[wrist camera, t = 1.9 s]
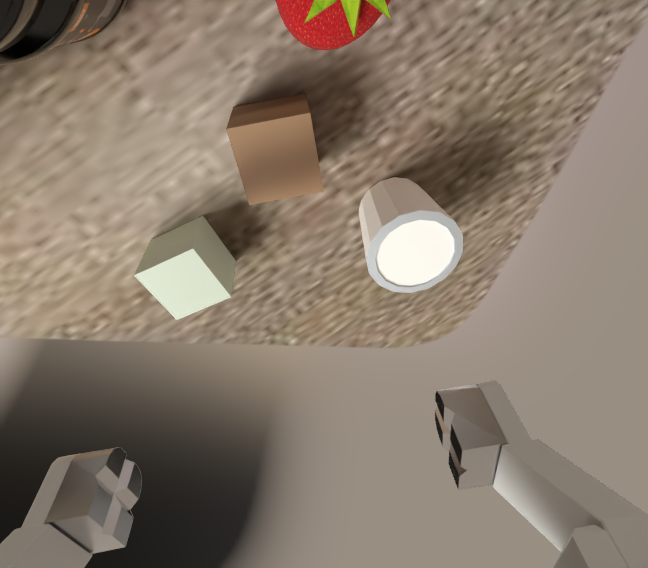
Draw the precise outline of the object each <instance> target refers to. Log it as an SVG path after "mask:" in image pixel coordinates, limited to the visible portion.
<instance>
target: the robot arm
mask: <svg viewBox="0 0 648 568" xmlns="http://www.w3.org/2000/svg"><path fill="white" fill-rule="evenodd" d="M435 401H436V403H437V406H438V407H437V409H436V410H435V421H436V427H437V431H438V435H439V438H440V441H441V444H442V446H443V447H444V448H445V449H446V450H447V451H449V466H450V469H451V472H452V474H453V477H454V480H455V483H456V485H457V488H458V490H461V489H468V488H476V487H483V486H489V485H493V487H494V488H495V489H496V490H497V491H498V492H499V493H500V494H501V495H502V496H503V497H504V498H505V499H506V500H507V501H508V502H509V503H510V504H511V505H512V506H513V507H515V508H516V509H517V510H518V511H519V512H520V513H521V514H522V515H523V516H524V517H525V518H526V519H527V520H528V521H529V522H530V523H531V524H532V525H534V526H535V527H536V528H537V529H538V530H539V531H540V532H541V533H542V534H543V535H544V536H545V537H546V538H547V539H548V540H549V541H550V542H551V543H552V544H553V545H554V546H556V548H558V549H559V550H560V551H561V554H560V556H559V558H558V560H557V562H556V563H555V566H554V568H648V514H647V513H645V512H644V511H642V510H641V509H639V508H638V507H636V506H635V505H633V504H632V503H631V502H629V501H628V500H626V499H625V498H623V497H622V496H620V495H619V494H617V493H616V492H615V491H613V490H612V489H610V488H609V487H607V486H606V485H604V484H603V483H601V482H600V481H599V480H597V479H596V478H594V477H593V476H591V475H590V474H588V473H587V472H585V471H584V470H583V469H581V468H580V467H578V466H577V465H575V464H574V463H572V462H571V461H569V460H568V459H567V458H565V457H564V456H562V455H561V454H559V453H558V452H556V451H555V450H553V449H552V448H550V447H549V446H548V445H546V444H545V443H543V442H542V441H540V440H539V439H534V440H532V439H531V437H530V436H529V434H528V432H527V430H526V429H525V427H524V425H523V423H522V422H521V420H520V418H519V416H518V415H517V413H516V411H515V409H514V407H513V406H512V404H511V402H510V400H509V399H508V397H507V395H506V393H505V392H504V390H503V388H502V386H501V385H500V384H499V383H498V382H497V381H489V382H484V383H480V384H471V385H466V386H461V387H455V388H450V389H445V390H440V391H437V392H436V393H435ZM126 455H127V454H126V453H125V452H124V451H123V450H122V449H121V448H120V447H119V448H114V449H107V450H100V451H95V452H88V453H83V454H75V455H69V456H64V457H58V458H57V459H56V460H55V461H54V462H53V463H52V465H51V467H50V469H49V471H48V473H47V475H46V477H45V479H44V481H43V483H42V485H41V487H40V490H39V492H38V494H37V496H36V498H35V500H34V502H33V504H32V506H31V508H30V511H29V513H28V515H27V517H26V519H25V521H24V523H23V525H22V527H21V528H19V529H15V530H14V531H13V532H12V533H11V534H10V535H9V536H8V537H7V538H6V539H5V540H4V541H3V542H2V543H1V544H0V568H84V567H85V565H86V564H87V563H88V561H89V560H90V558H91V557H92V555H91V554H93V553H97V552H103V551H107V550H112V549H118V548H123V547H126V543H127V539H128V536H129V532H130V529H131V525H132V521H133V516H132V513H131V511H130V509H131V508H132V507H133V505H134V504H135V503H136V502H137V500H138V499H139V495H140V491H141V473H140V470H139V468H138V466H137V465H136V464H135V463H134V462H131V461H128V460H126V459H125V458H126Z"/></svg>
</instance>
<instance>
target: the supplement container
mask: <svg viewBox="0 0 648 568" xmlns="http://www.w3.org/2000/svg"><path fill="white" fill-rule="evenodd" d="M126 3H127V0H0V65H9V64H16V63H20V62H24V61H28V60H31V59H33V58H36V57H38V56H41V55H42V54H44V53H46V52H48V51H49V50H51V49H53V48H56V47H59V46H62V45H65V44H68V43H75V42H80V41H84V40H87V39H89V38H92V37H94V36H96V35H98V34H99V33H101V32H103V31H104V30H105V29H107V28H108V27H109V26H110V25H111V24H112V23H113V22H114V21H115V20H116V19H117V18H118V16H119V15H120V13H121V12H122V10H123V8H124V7H125V5H126Z"/></svg>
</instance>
